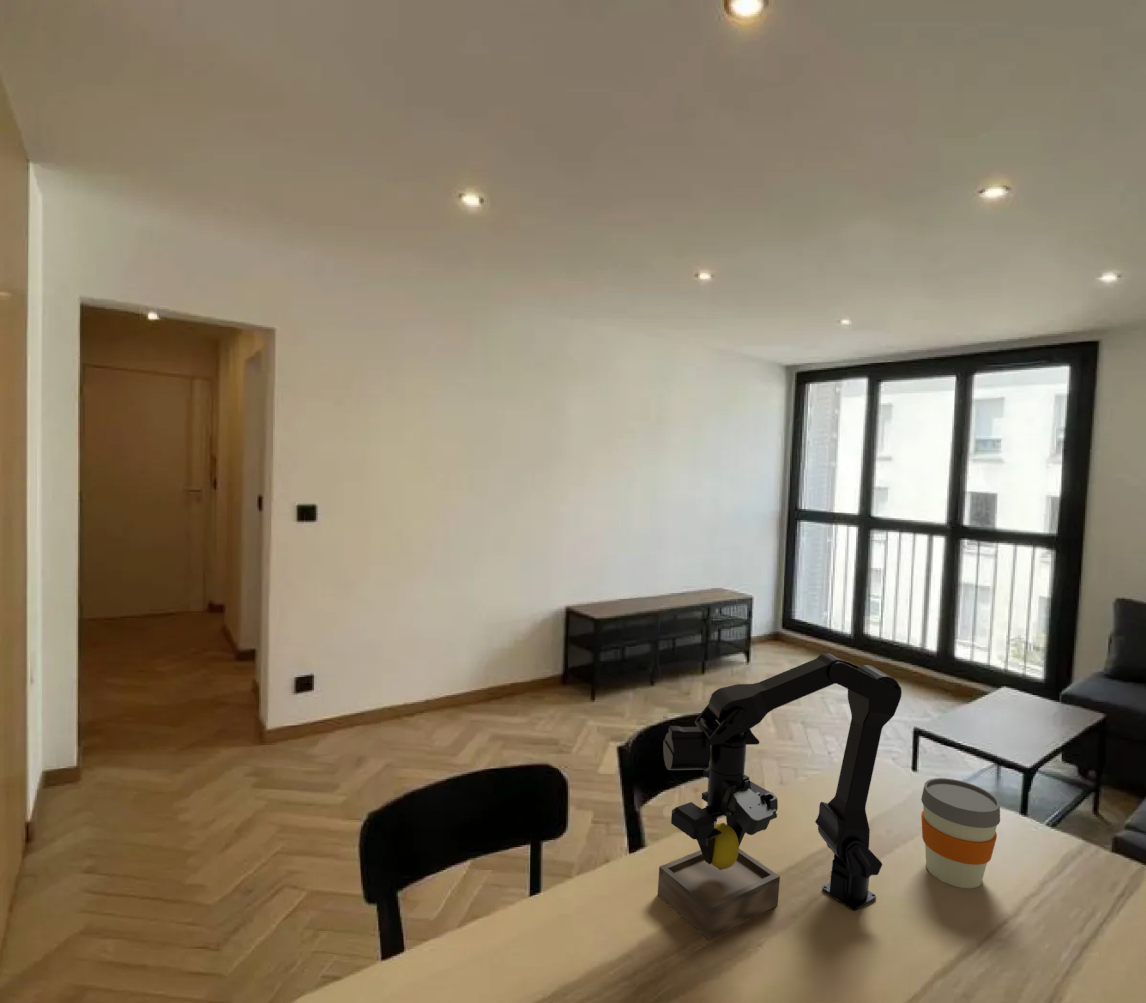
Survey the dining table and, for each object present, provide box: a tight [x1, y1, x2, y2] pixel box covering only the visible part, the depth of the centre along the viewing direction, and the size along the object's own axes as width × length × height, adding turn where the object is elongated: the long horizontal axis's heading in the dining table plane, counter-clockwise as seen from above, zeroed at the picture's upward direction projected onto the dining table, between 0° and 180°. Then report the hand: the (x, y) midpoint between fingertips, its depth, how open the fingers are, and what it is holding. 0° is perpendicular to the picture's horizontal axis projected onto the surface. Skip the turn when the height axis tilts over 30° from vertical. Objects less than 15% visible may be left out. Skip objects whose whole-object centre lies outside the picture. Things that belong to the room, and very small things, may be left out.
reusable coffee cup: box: [920, 777, 1001, 889], centre depth 124 cm, size 13×12×15 cm
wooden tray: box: [657, 848, 781, 940], centre depth 114 cm, size 16×12×5 cm
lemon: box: [711, 822, 740, 870], centre depth 113 cm, size 6×6×8 cm
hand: (720, 857), depth 113 cm, fingers closed on lemon, 5 cm apart
